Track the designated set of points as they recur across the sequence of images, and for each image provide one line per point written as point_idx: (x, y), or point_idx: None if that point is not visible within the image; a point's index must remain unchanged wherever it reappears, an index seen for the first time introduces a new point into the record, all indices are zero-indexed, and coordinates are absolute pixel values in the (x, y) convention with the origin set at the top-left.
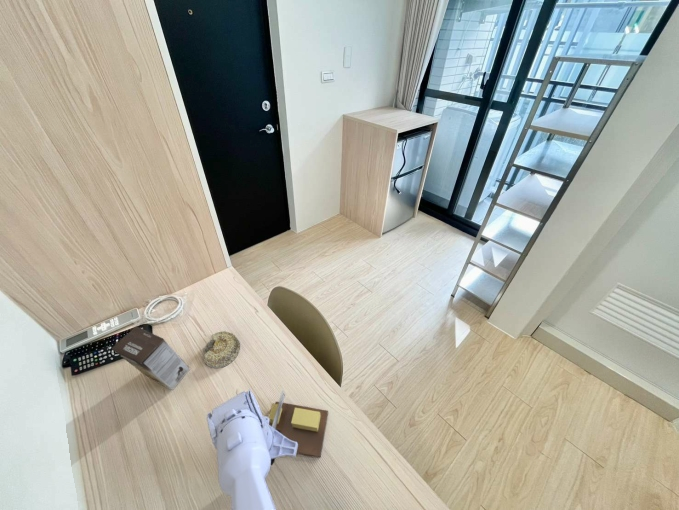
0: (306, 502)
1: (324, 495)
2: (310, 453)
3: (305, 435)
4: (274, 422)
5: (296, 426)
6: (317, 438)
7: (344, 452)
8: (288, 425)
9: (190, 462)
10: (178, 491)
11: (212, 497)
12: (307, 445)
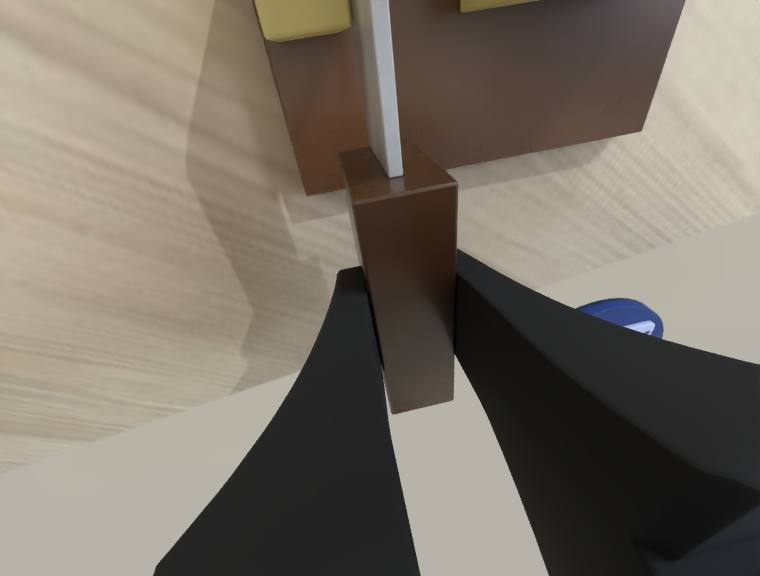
0: (556, 278)
1: (621, 241)
2: (590, 135)
3: (559, 43)
4: (394, 82)
5: (514, 3)
6: (639, 34)
7: (756, 54)
8: (423, 11)
9: (19, 359)
10: (93, 415)
11: (226, 382)
12: (574, 101)
